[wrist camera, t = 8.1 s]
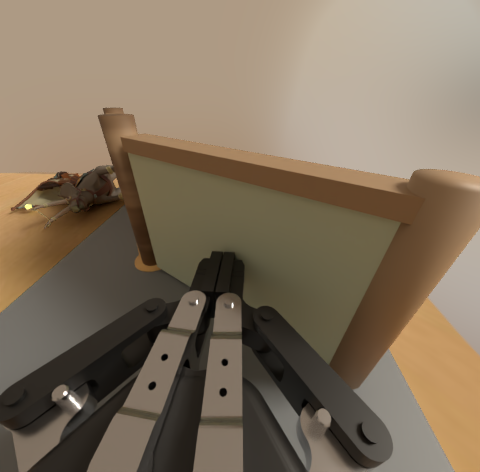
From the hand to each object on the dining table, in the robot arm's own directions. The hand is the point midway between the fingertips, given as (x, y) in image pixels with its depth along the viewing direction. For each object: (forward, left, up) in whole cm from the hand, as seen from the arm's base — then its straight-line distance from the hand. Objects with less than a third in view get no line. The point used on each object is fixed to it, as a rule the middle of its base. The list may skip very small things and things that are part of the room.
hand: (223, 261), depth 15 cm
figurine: (-26, +21, -7) cm, 35 cm away
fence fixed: (-13, +14, -6) cm, 20 cm away
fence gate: (+1, +1, -6) cm, 6 cm away
